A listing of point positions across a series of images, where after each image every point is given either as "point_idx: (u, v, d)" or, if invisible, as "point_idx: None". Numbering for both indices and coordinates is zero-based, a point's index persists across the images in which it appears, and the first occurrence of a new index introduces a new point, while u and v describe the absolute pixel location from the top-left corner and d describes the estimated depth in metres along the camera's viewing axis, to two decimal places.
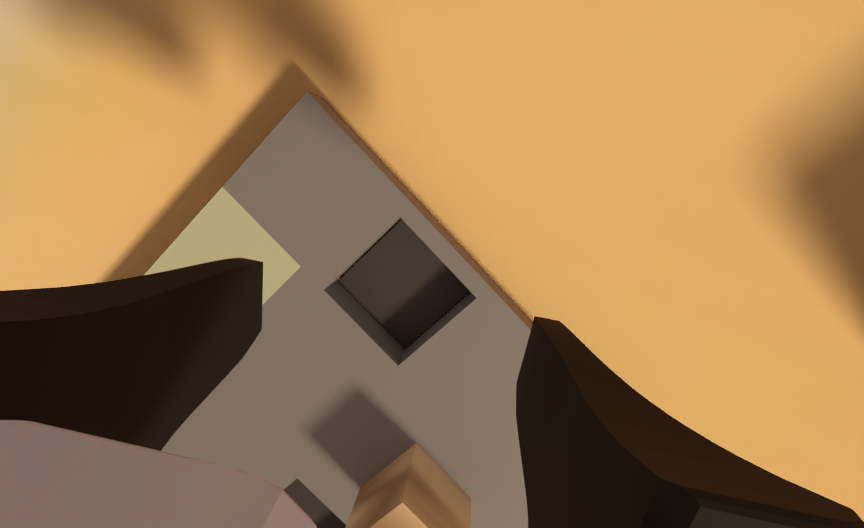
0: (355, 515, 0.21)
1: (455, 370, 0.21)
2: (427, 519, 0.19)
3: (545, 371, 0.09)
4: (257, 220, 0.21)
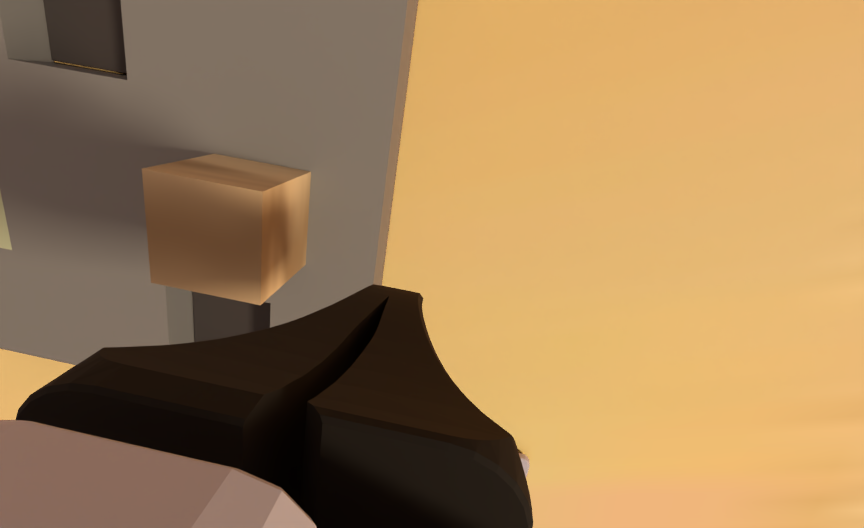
0: None
1: (172, 35, 0.16)
2: (192, 175, 0.14)
3: None
4: None
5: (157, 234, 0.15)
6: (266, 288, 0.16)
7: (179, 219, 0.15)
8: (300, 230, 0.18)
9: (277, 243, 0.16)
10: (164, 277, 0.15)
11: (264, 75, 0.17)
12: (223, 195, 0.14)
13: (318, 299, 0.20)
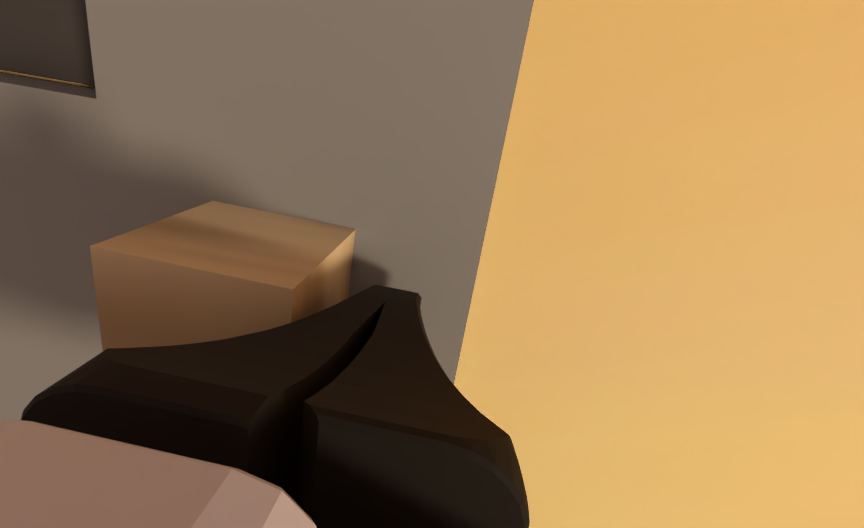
0: None
1: (162, 30, 0.11)
2: (174, 255, 0.09)
3: None
4: None
5: (117, 346, 0.09)
6: None
7: (154, 325, 0.09)
8: None
9: None
10: None
11: (303, 92, 0.11)
12: (225, 292, 0.08)
13: None
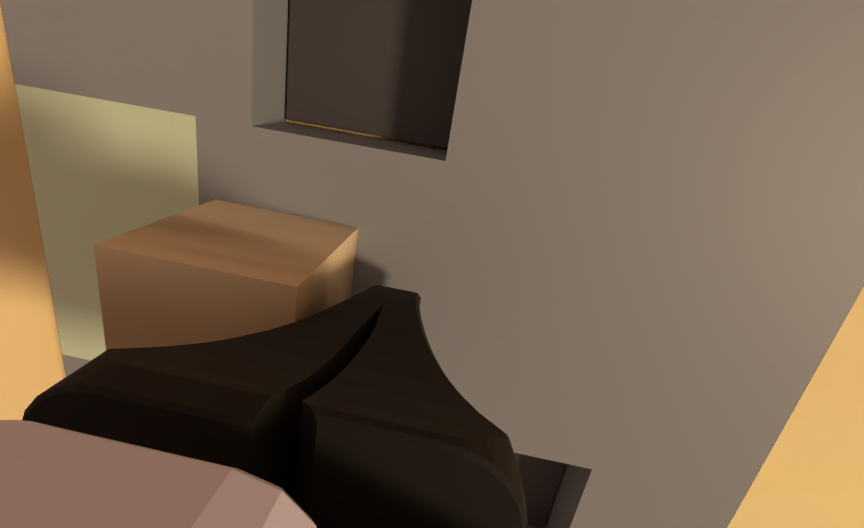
0: None
1: (542, 94, 0.10)
2: (178, 253, 0.09)
3: None
4: (94, 96, 0.12)
5: (122, 344, 0.09)
6: None
7: (157, 323, 0.09)
8: None
9: None
10: None
11: (687, 158, 0.10)
12: (229, 290, 0.08)
13: (671, 468, 0.13)
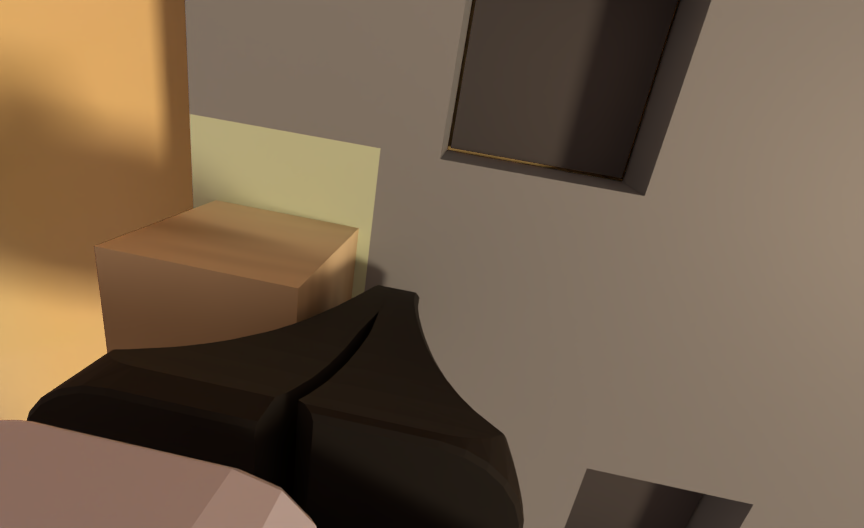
0: None
1: (761, 130, 0.10)
2: (178, 254, 0.09)
3: None
4: (271, 127, 0.11)
5: (123, 346, 0.09)
6: None
7: (158, 325, 0.09)
8: None
9: None
10: None
11: None
12: (230, 291, 0.08)
13: (839, 504, 0.13)
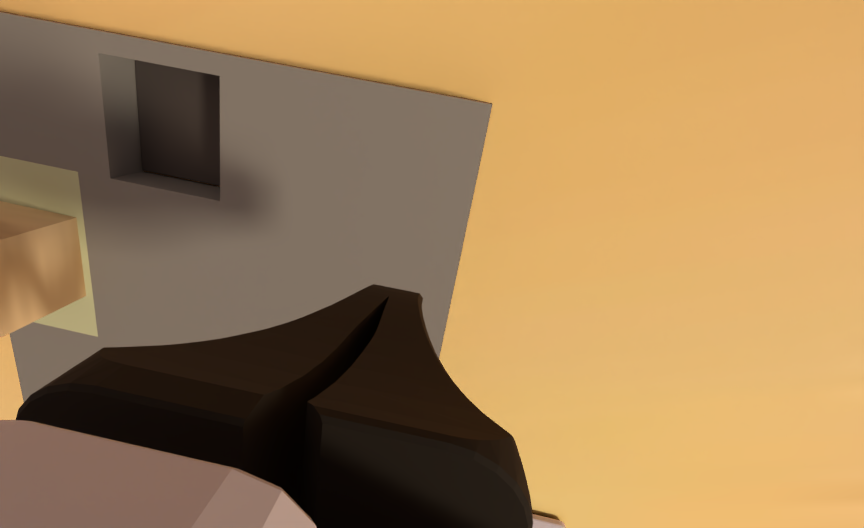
0: None
1: (265, 166, 0.18)
2: None
3: None
4: (19, 158, 0.20)
5: None
6: (10, 322, 0.18)
7: None
8: (67, 268, 0.20)
9: (24, 282, 0.18)
10: None
11: (347, 203, 0.18)
12: None
13: None
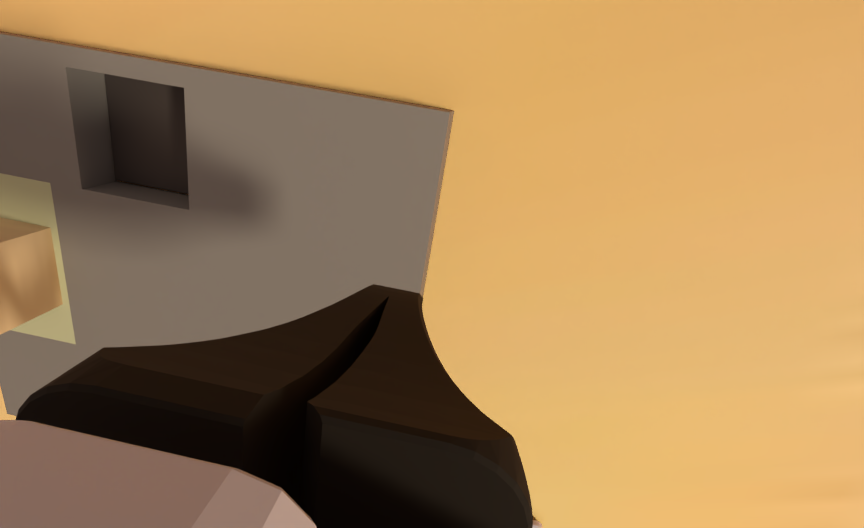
0: None
1: (231, 175, 0.19)
2: None
3: None
4: None
5: None
6: None
7: None
8: (42, 277, 0.21)
9: None
10: None
11: (313, 210, 0.19)
12: None
13: None
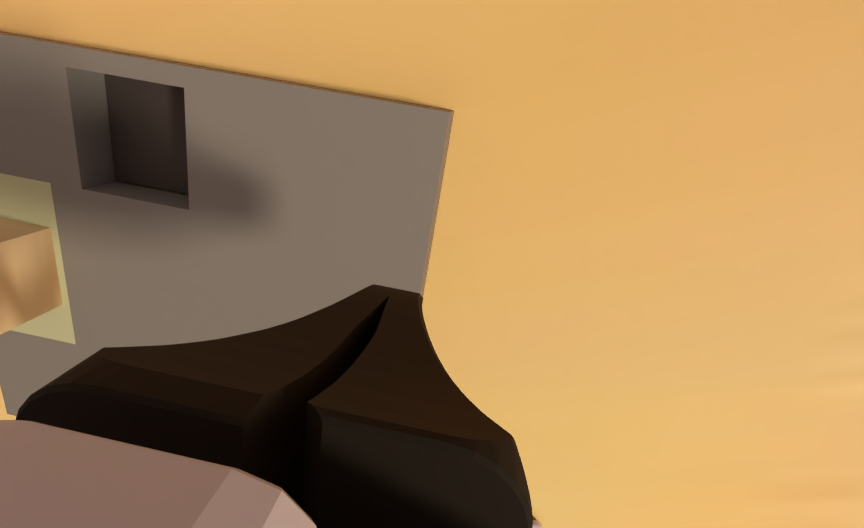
0: None
1: (231, 175, 0.19)
2: None
3: None
4: None
5: None
6: None
7: None
8: (42, 277, 0.21)
9: None
10: None
11: (313, 210, 0.19)
12: None
13: None
